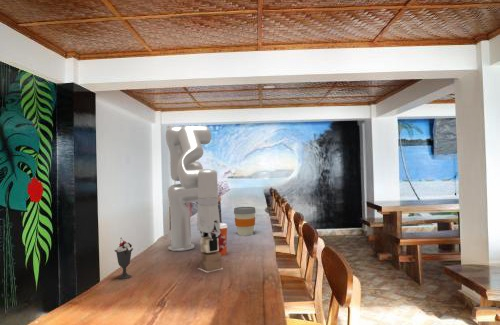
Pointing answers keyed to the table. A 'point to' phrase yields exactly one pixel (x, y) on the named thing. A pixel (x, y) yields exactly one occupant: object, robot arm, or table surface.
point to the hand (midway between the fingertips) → (209, 248)
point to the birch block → (207, 245)
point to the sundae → (124, 257)
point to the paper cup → (222, 239)
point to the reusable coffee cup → (245, 220)
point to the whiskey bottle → (219, 208)
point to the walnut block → (210, 261)
